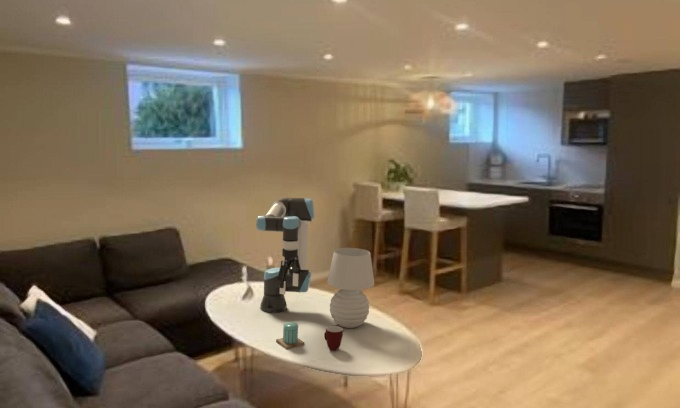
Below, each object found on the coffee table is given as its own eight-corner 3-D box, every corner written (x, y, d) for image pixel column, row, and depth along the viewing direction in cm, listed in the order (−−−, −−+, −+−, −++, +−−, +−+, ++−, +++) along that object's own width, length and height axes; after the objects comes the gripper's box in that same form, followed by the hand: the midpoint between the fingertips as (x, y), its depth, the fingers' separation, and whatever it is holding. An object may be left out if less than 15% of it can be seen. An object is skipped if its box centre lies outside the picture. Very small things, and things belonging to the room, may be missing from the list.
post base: (293, 337, 256) (294, 324, 255) (304, 344, 248) (304, 331, 247) (276, 341, 250) (276, 328, 249) (286, 349, 242) (286, 335, 241)
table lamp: (378, 321, 284) (382, 250, 278) (361, 337, 261) (365, 260, 255) (337, 313, 294) (340, 244, 289) (317, 327, 271) (320, 253, 266)
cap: (292, 336, 254) (293, 321, 253) (300, 341, 248) (300, 326, 247) (280, 339, 250) (280, 324, 249) (287, 344, 244) (288, 328, 243)
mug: (317, 347, 246) (318, 327, 244) (328, 342, 252) (329, 323, 250) (334, 354, 239) (335, 333, 238) (345, 349, 245) (346, 329, 244)
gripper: (295, 242, 265) (294, 281, 268) (270, 253, 242) (269, 296, 245) (308, 244, 262) (306, 283, 265) (284, 255, 239) (283, 298, 243)
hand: (289, 289), depth 255 cm, fingers open, 13 cm apart
